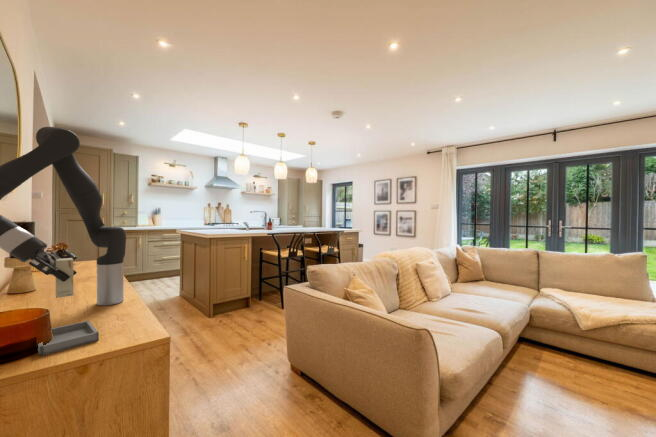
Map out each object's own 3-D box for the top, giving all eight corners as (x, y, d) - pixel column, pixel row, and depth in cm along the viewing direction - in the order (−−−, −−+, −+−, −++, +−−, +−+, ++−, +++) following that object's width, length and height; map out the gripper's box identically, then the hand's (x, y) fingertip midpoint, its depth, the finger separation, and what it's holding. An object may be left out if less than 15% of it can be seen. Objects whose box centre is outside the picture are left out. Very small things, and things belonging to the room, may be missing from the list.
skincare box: (73, 296, 93) (73, 259, 92) (55, 298, 90) (55, 261, 89) (73, 291, 97) (72, 257, 97) (55, 294, 94) (55, 258, 94)
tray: (35, 340, 85) (35, 332, 85) (88, 327, 95) (88, 320, 95) (39, 356, 76) (39, 347, 76) (98, 340, 85) (98, 332, 85)
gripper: (23, 237, 83) (75, 272, 89) (42, 234, 96) (86, 265, 102) (-3, 256, 81) (52, 291, 87) (20, 250, 93) (67, 281, 99)
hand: (70, 277), depth 94 cm, fingers closed on skincare box, 7 cm apart
